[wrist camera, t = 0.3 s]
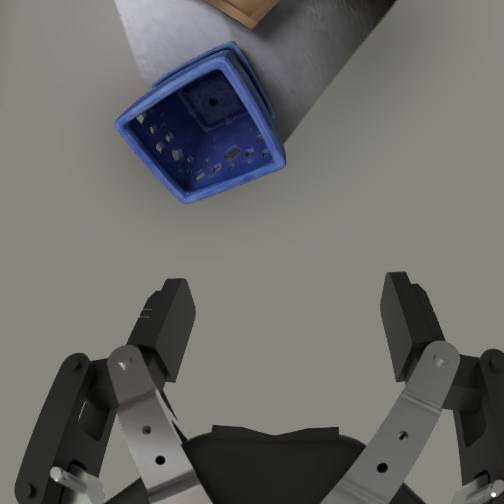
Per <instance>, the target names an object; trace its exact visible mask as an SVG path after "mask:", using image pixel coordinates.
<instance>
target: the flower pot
mask: <svg viewBox="0 0 504 504" xmlns="http://www.w3.org/2000/svg"><path fill="white" fill-rule="evenodd" d="M152 88H153V89H152V90H151V91H149V92H148V93H147V94H145V95H144V96H143V97H141V98H140V99H139V100H138V101H136V102H135V103H134V104H133V105H132V106H130V107H129V108H128V109H127V110H126V111H125V112H124V113H123V114H122V115H121V116H120V117H119V118H118V119H117V120H116V122H115V126H116V128H117V130H118V131H119V133H120V134H121V135H122V137H123V138H124V139H125V140H126V142H127V143H128V144H129V145H130V147H131V148H132V149H133V150H134V151H135V153H136V154H137V155H138V156H139V157H140V158H141V159H142V161H143V162H144V163H145V164H146V165H147V167H148V168H149V169H150V170H151V171H152V172H153V174H154V175H155V176H156V177H157V178H158V179H159V180H160V181H161V182H162V184H163V185H164V186H165V187H166V188H167V189H168V190H169V191H170V192H171V193H172V194H173V195H174V196H175V197H176V198H177V199H178V200H179V201H181V202H182V203H183V204H190V203H193V202H196V201H199V200H202V199H205V198H207V197H210V196H213V195H215V194H218V193H221V192H223V191H226V190H228V189H231V188H233V187H236V186H238V185H241V184H244V183H246V182H249V181H251V180H254V179H256V178H259V177H261V176H264V175H267V174H269V173H272V172H275V171H277V170H280V169H282V168H284V167H285V166H286V155H285V150H284V146H283V143H282V140H281V138H280V135H279V133H278V130H277V128H276V126H275V123H274V121H273V119H274V118H275V117H276V114H275V112H274V109H273V107H272V105H271V103H270V101H269V100H268V98H267V96H266V94H265V92H264V90H263V88H262V86H261V84H260V82H259V80H258V79H257V77H256V75H255V74H254V72H253V70H252V68H251V67H250V65H249V63H248V61H247V60H246V58H245V56H244V55H243V53H242V52H241V50H240V49H239V47H238V46H237V44H236V43H235V42H234V41H230V42H227V43H225V44H222V45H220V46H218V47H216V48H214V49H212V50H210V51H208V52H206V53H204V54H202V55H200V56H198V57H196V58H194V59H192V60H190V61H188V62H187V63H185V64H183V65H181V66H180V67H178V68H176V69H174V70H173V71H171V72H169V73H168V74H166V75H164V76H163V77H161V78H159V79H158V80H157V81H155V82H154V83H153V84H152ZM150 112H151V113H150ZM141 114H142V116H143V117H144V120H143V122H142V124H141V123H140V122H139V121H138V120H137V118H136V117H137V116H139V115H141ZM161 126H162V128H161ZM150 127H152V128H153V132H154V134H152V133H151V130H150ZM167 135H168V136H169V137H170V141H169V142H168V141H167V140H166V136H167ZM260 139H262V141H261V142H259V143H258V141H259V140H260ZM157 143H158V144H159V145H160V147H161V148H162V151H161V153H160V152H159V151H158V150H157V149H156V145H157ZM236 148H237V149H239V150H240V152H239V153H238V154H237V155H236V156H235V157H234V158H232V159H231V160H228V159H227V158H226V157H227V156H228V155H229V154H230V153H231V152H232V151H233V150H234V149H236ZM172 150H177V151H178V154H179V160H174V158H173V156H172V152H171V151H172ZM251 152H254V153H253V155H251V156H248V154H249V153H251ZM267 153H269V154H268V155H267V156H265V157H264V155H265V154H267ZM187 158H188V159H189V160H190V163H189V162H188V160H187ZM208 162H209V163H208ZM207 163H208V164H207ZM220 167H221V169H220V170H219V171H216V172H215V170H216V169H218V168H220ZM233 167H234V168H233ZM232 168H233V169H232ZM187 170H188V172H187ZM202 173H205V175H204V176H203V177H202V178H200V179H199V180H196V177H198V176H199V175H200V174H202Z"/></svg>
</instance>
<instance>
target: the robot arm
mask: <svg viewBox="0 0 504 504" xmlns="http://www.w3.org/2000/svg"><path fill="white" fill-rule="evenodd" d="M380 307H381V308H380V310H381V317H382V321H383V325H384V329H385V333H386V337H387V342H388V346H389V350H390V354H391V359H392V364H393V368H394V373H395V378H396V382H403V381H405V383H406V386H405V388H404V390H403V391H402V393H401V394H400V395H399V397H398V399H397V401H396V402H395V404H394V406H393V407H392V409H391V410H390V412H389V414H388V415H387V417H386V418H385V420H384V421H383V423H382V424H381V426H380V427H379V429H378V430H377V432H376V433H375V435H374V436H373V438H372V439H371V440H370V442H369V443H368V445H367V446H366V445H365V444H364V443H362V442H360V441H358V440H356V439H354V438H351V437H348V436H345V435H339V427H330V428H307V429H303V430H299V431H295V432H290V433H285V434H281V435H269V434H265V433H261V432H258V431H254V430H250V429H247V428H243V427H232V426H220V425H213V427H212V432H210V433H205V434H201V435H198V436H196V437H194V438H191V439H190V437H189V436H188V434H187V433H186V431H185V430H184V428H183V426H182V425H181V423H180V421H179V419H178V417H177V415H176V414H175V411H174V409H173V407H172V405H171V403H170V401H169V399H168V397H167V395H166V393H165V391H164V389H163V388H164V385H165V382H173V383H175V382H176V378H177V375H178V372H179V368H180V365H181V362H182V358H183V355H184V352H185V349H186V346H187V342H188V339H189V336H190V333H191V330H192V327H193V324H194V320H195V314H196V313H195V312H196V311H195V305H194V301H193V299H192V295H191V292H190V289H189V286H188V283H187V281H186V279H184V278H183V279H182V278H181V279H180V278H178V279H167V280H166V281H165V283H164V285H163V288H162V290H161V291H155V293H153V294H152V295H151V297H149V298H148V300H147V302H146V304H145V306H144V308H143V310H142V312H141V314H140V318H138V320H137V322H136V325H135V326H134V329H133V331H132V333H131V335H130V337H129V339H128V342H127V344H126V345H124V346H121V347H118V348H117V349H115V350H114V351H113V352H112V353H111V354H110V356H109V358H107V359H101V360H95V361H90V360H89V358H88V357H87V356H86V355H85V354H83V353H75V354H72V355H70V356H69V357H67V358H66V359H65V361H64V362H63V364H62V365H61V367H60V369H59V372H58V374H57V376H56V378H55V380H54V382H53V385H52V387H51V389H50V391H49V394H48V396H47V398H46V401H45V403H44V406H43V408H42V410H41V413H40V415H39V418H38V420H37V423H36V425H35V428H34V430H33V433H32V436H31V439H30V441H29V444H28V447H27V449H26V452H25V455H24V458H23V461H22V464H21V467H20V470H19V473H18V477H17V480H16V483H15V496H16V499H17V501H18V502H19V504H426V503H425V502H424V501H423V500H422V499H421V498H420V497H419V496H417V495H416V494H415V493H414V492H413V491H412V490H411V489H410V488H409V487H408V486H407V485H406V484H405V483H404V480H405V478H406V477H407V475H408V474H409V472H410V470H411V469H412V467H413V465H414V464H415V462H416V460H417V459H418V457H419V455H420V454H421V452H422V450H423V448H424V446H425V444H426V442H427V441H428V439H429V437H430V435H431V433H432V431H433V429H434V427H435V425H436V423H437V421H438V419H439V417H440V415H441V412H442V410H441V409H449V410H453V414H454V420H455V426H456V433H457V440H458V447H459V455H460V465H461V475H462V487H461V488H460V489H459V490H458V491H457V492H456V493H455V495H454V497H453V499H452V502H451V504H504V353H503V352H502V351H500V350H497V349H489V350H486V351H485V352H484V353H483V354H482V356H481V357H480V358H479V357H472V356H465V355H461V354H459V352H458V350H457V349H456V348H455V347H454V346H453V345H452V344H450V343H448V342H446V341H445V338H444V336H443V333H442V330H441V328H440V325H439V322H438V320H437V317H436V315H435V312H433V308H432V305H431V304H430V300H429V298H428V296H427V293H426V292H425V291H424V290H423V289H422V288H421V287H420V286H419V285H418V284H411V283H410V281H409V278H408V276H407V273H406V272H387V274H386V277H385V282H384V287H383V292H382V298H381V304H380ZM84 402H85V405H84V408H83V411H82V413H81V410H82V407H83V404H84ZM80 413H81V416H80V419H79V415H80ZM116 413H117V415H118V418H119V421H120V424H121V427H122V430H123V433H124V435H125V438H126V441H127V444H128V446H129V449H130V451H131V454H132V456H133V459H134V461H135V464H136V466H137V469H138V471H139V473H140V476H141V477H140V478H139V479H137V480H136V481H135V482H134V483H132V484H131V485H129V486H128V487H127V488H125V489H124V490H122V491H121V492H120V493H118V494H117V495H115V496H114V497H113V498H111V499H110V500H108V501H107V502H106V503H104V502H103V499H104V498H105V494H104V492H103V487H102V484H101V482H100V481H99V479H98V477H99V473H100V469H101V465H102V461H103V458H104V454H105V451H106V447H107V444H108V440H109V436H110V433H111V429H112V426H113V423H114V420H115V416H116ZM78 419H79V420H78Z"/></svg>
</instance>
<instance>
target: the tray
mask: <svg viewBox="0 0 504 504" xmlns="http://www.w3.org/2000/svg"><path fill="white" fill-rule="evenodd" d="M204 1H206V2H208V3H209V4H211V5H213V6H215V7H216V8H218V9H220V10H221V11H223V12H225V13H226V14H228V15H230V16H231V17H233V18H234V19H236V20H237V21H239V22H241V23H242V24H244V25H245V26H247V27H248V28H250V29H251V30H252V29H253V28H254V27H255V26H256V24H257V23H258V22H259V21H260V20H261V19H262V18H263V17H264V16H265V15H266V14H267V13H268V12H269V11H270V10H271V9H272V8H273V7H274V6H275V5H276V4H277V3H278V2H279V1H280V0H204Z"/></svg>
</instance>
